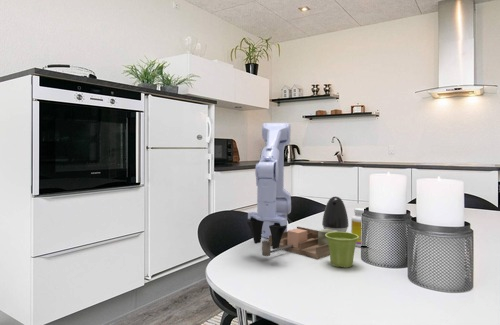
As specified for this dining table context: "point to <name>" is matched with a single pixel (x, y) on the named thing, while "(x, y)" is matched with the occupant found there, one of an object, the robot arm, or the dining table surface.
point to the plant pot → (341, 248)
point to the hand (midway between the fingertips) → (266, 245)
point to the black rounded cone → (335, 215)
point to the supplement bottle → (357, 224)
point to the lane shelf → (309, 243)
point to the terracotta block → (293, 241)
